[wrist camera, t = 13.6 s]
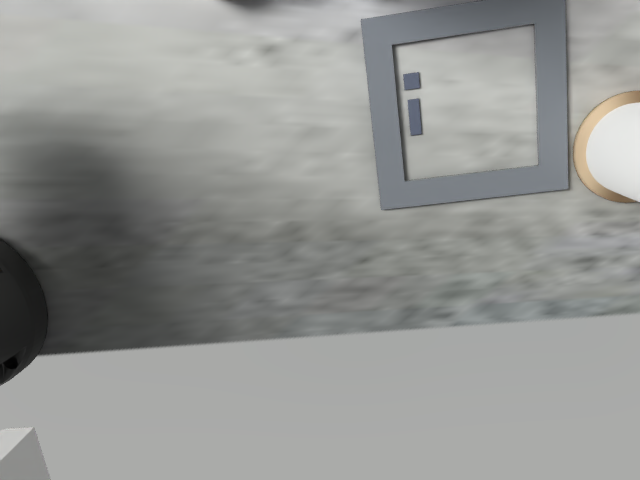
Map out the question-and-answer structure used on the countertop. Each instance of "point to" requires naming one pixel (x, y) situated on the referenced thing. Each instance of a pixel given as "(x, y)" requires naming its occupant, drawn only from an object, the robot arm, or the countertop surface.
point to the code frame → (378, 37)
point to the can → (617, 151)
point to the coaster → (582, 141)
